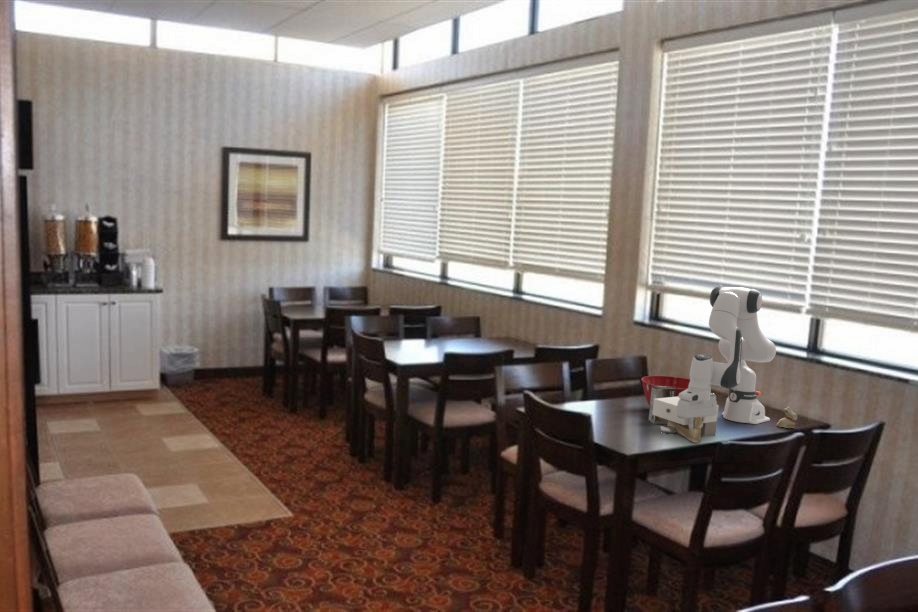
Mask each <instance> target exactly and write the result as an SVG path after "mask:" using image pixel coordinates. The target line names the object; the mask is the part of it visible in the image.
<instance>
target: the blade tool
mask: <svg viewBox="0 0 918 612" xmlns="http://www.w3.org/2000/svg"><path fill="white" fill-rule="evenodd" d="M702 414H703V413H700V417H697V418H694V419H693V420H692V421H693V424H695V425H694V428H689V429H688V428H687V427H685V426H683V425H681V424H679V423H676V422H673V421H670V420H668V424H667V425H670V426H673V427H675V433H678V434H679V435H682V436H683V437H685V438H686V439H688V440H689V441H690V442H692V443H701V437H702V436H701V425H702Z"/></svg>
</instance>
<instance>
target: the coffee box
mask: <svg viewBox="0 0 918 612" xmlns="http://www.w3.org/2000/svg"><path fill="white" fill-rule="evenodd" d="M675 395H676V389H675V388H673V387H670V386H652V388H651V400H650V406H649V412H648V413H649V415H648V421H649V420H650V421H651V423H652V422H653V423H652V424H654V423H655V424H654V425H668V420H667V419H664V418H661V417H658V416H655V415H652V414H653V403H654V399H656V398H667V397H675ZM650 421H649V422H650Z"/></svg>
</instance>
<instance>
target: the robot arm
mask: <svg viewBox="0 0 918 612" xmlns="http://www.w3.org/2000/svg"><path fill="white" fill-rule="evenodd" d="M709 295H710V296H709V302H710V306H711V307H712V309H711V312H710V315H709V319H708V326H709V330H711V332H712V333H713V334H714V335H715V336H716V337H718V338H720V340H719V341H718V351H719V353H720V354H721V355H722V356H723V357H724V358H725V360H726V363H724V362H719V361H718V362H717V361H713V357H712V356H711V355H709V354H706V353H697V354H695V355H693V357H692V359H691V360H692V361H691V364H690V369H689V379H690V383H689V386H688V388H687V389H686V390H684V391H683V392H681V393H679V398H681V399H680V400H679V401H678V405H677V416H678V417H679V418H682V419H687V420H688V423H689V428H694V425H695V424H693V421H692V420H693V419H694V418H697V417H700V413H703V414H702V425H701V427H703V423H704V421H705V419H706V416H715V415H716V413H717V405H718V401H717V395H716V394H715V393H714V392H712V386H715V387H716V386H717V387H722V388H725V389H728V390H727V393H728V394H727V396H728V397H727V398H726V400H725V405H724V411H723V412H722V413H721V415H722V417H723V418H724V419H726V420H727V421H732V422H737V423H743V424H745V423H746V424H753V425H758V424H760V423H765V422H769V421H771V419H770V417H768V416H766V408H765V406H764V405H763V404H762V403H761V401H759V399H758V397H757V396H760V397H761V393H762V392H761V391H758V390H756V382H757V375H756V372H755V371H754V370H753V369H751V368H750V367H749V366H748V365H747V362H746V361H748V362H753V363H770V362H772V361H773V360H774V358H775V356H776V354H777V348H776V345H775V343H774V342H773V341H771V340H770V339H769V338H768V337H766V336H765V334H764V333H763V332H762V330H761V329H760V324H759V321H758V320H759V319H758V312H759V311H760V310H761V308H762V304H763V295H762V293H761V291H759V290H757V289H754V288H747V287H741V286H721V285H720V286H716V287H714V288H713V289H712V290H711V292H710V294H709Z"/></svg>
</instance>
